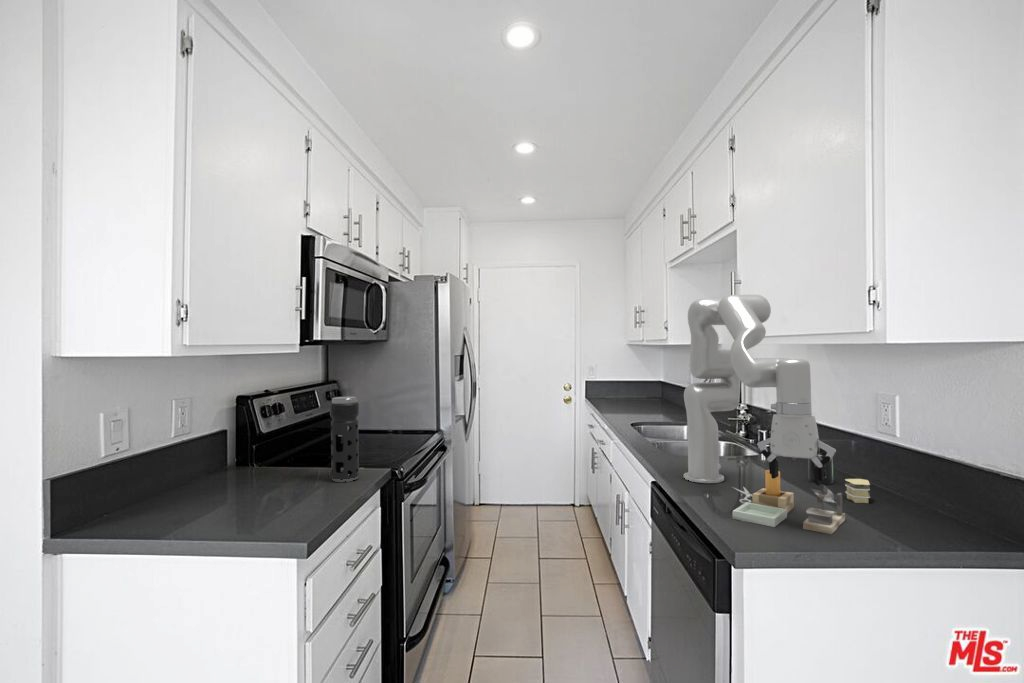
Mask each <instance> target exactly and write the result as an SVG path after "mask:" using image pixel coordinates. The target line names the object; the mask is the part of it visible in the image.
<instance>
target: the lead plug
mask: <svg viewBox="0 0 1024 683" xmlns="http://www.w3.org/2000/svg"><path fill="white" fill-rule="evenodd" d="M764 471H765V472H764V476H765V478H764V479H765V480H764V482H765V489H766V495H770V496H777V497H781V495H780V491H781V471H780V470H778V477H776V478H774V479H773V478H772V477H771V474H770V472H769V469H766V470H764Z"/></svg>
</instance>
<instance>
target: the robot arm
mask: <svg viewBox="0 0 1024 683" xmlns="http://www.w3.org/2000/svg"><path fill="white" fill-rule="evenodd" d="M771 309H772V308H771V304H770V303H769V300H768V299H767V298H766V297H765V296H762V295H761V294H730V295H727V296H724V297H722V298H721V297H708V298H699V299H696V300H694V301H693V302H691V304H690V305H689V308H688V311H687V324H688V328H689V333H690V351H689V352H690V354H689V355H690V357H689V359H690V360H689V368H690V374H691V376H692V377H694V378H696V379H699V380H716V379H717V380H719V379H720V382H696V383H692V384H689V385H688V386H685V389H684V392H683V401H684V406H685V411H686V422H687V468H688V471H687V472H684V473H683V479H684V478H685V479H684V480H686V481H688V480H689V482H693V483H698V484H699V483H700V484H718V483H722V482H724V481H725V476H724V475H722V473H721V474H720V469H722V465H721V463H719V462H720V457H719V455H720V454H719V450H720V449H719V448H720V447H719V425H718V423H717V420H716V419H715V418H714V416H713V415H712V413H713V412H729V411H734V410H736V408H738V406H739V402H740V398H741V396H740V394H741V383H743V385H744V386H746V387H749V388H753V389H755V388H757V389H758V388H776V389H775V390H776V392H775V393H776V401H775V403H771V405H770V409H771V410H774V411H775V413H776V414H773V416H772V421H771V426H770V427H771V428H770V437H769V438H766V439H764V440H761V441H759V442H757V443H756V444H757V446H758V449H759V451H760V452H761V455H762V456H763V457H764V458H765V459H766V461H767V462H768V465H769V468H768V470H769V472H770V474H771V477H772V478H773V479H774V478H776V477H778V471H779V461H778V460H777V458H778V457H784V458H794V459H801V460H803V459H804V460H808V459H811V460H812V461H813V462H814V463H815V464H816V467H815V468H814V476H815V484H820V483H821V481H823V480H824V470H823V466H824V465H825V464H827V463H828V462H829V461H830V460H831V459H832V457H834V455H835V454H836V453H837V450H836V448H834V447H832V446H831V445H829V444H828V445H827V444H826V443H825V442H823V441H821V440H820V436H819V431H818V424H817V421H816V417H815V415H812V384H811V383H812V382H811V381H812V379H811V364H810V362H809V361H808V360H807V359H801V358H798V359H797V358H787V357H774V358H773V357H762V358H761V357H760V358H758V357H757V358H753V357H752V356H751V355H750V353H749V351H748V350H750V349H752V348H754V347H756V346H757V345H759V344H760V343H762V341H763V340H764V339H765V337H766V333H767V331H766V330H767V329H766V327H765V326H764V324H763V323H765V322H767V321H768V320H769V318H770V316H771V313H772V312H771ZM714 326H725V327H726V329H727V330H728V332H729V334H730V335H731V337H732V339H733V342H732V344H731V348H730V349H719V340H720V339H719V333H718V332H717V330H716V329H715V327H714ZM769 444H770V447H769V448H770V449H768V448H767V445H769ZM820 448H821V449H823V450H825V451H826V452H827V454H826V456H825V457H824V458H823V459H822V458H821V457H820V456H819V453H820ZM769 450H770V451H769Z"/></svg>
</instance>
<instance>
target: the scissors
mask: <svg viewBox="0 0 1024 683" xmlns="http://www.w3.org/2000/svg"><path fill="white" fill-rule="evenodd" d="M742 487H743V490H741V489H738V488H737V487H733V486H731V488H732V489H734V490H736V491H737V492H739V493H742V494H743V495H744V496H745V497H743V498H740V499H739V503H741V504H745V503H746V502H749V503H752V500H751V499H748V498H750V497H752V494H753V493H750V491H749V490H747V488H746V487H744V486H742Z"/></svg>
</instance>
